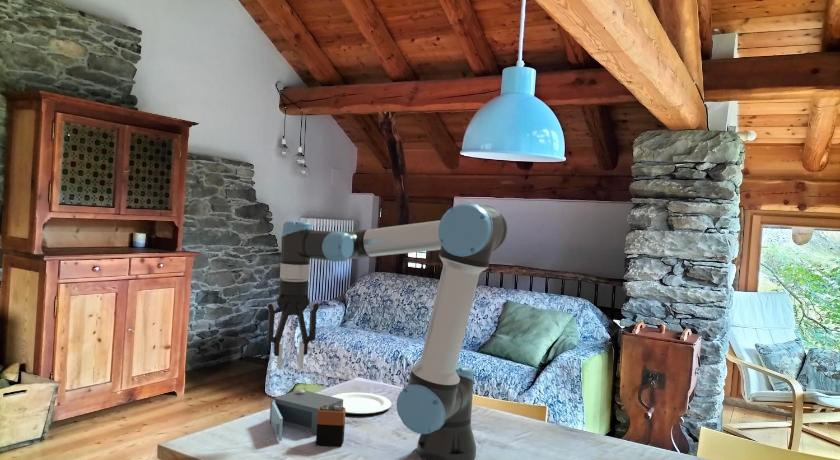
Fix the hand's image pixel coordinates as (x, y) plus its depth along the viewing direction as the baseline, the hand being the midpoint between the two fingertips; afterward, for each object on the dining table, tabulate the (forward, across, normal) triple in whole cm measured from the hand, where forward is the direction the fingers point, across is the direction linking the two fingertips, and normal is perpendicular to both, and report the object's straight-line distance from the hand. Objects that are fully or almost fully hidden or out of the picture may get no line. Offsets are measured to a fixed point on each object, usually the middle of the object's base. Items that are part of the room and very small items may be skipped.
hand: (289, 367), depth 157 cm
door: (+18, +2, -4) cm, 19 cm away
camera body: (+19, -8, -9) cm, 22 cm away
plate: (+19, -26, -21) cm, 39 cm away
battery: (+19, -10, +7) cm, 23 cm away
